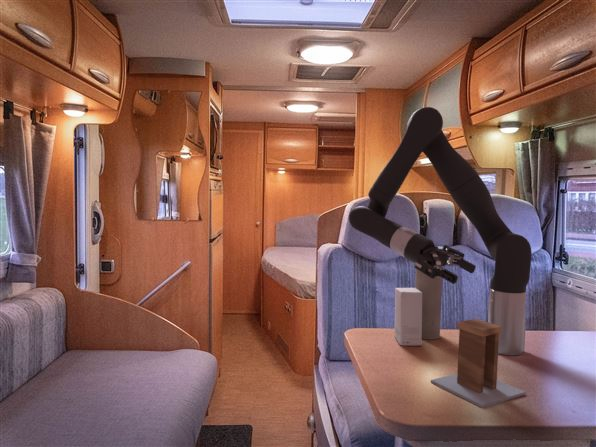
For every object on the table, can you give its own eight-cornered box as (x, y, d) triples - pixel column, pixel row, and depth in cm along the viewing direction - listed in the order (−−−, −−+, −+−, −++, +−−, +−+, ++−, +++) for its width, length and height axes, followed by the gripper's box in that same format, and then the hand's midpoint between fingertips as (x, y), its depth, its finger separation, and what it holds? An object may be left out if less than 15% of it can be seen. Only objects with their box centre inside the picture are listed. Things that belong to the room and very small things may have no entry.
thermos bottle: (438, 332, 143) (442, 244, 141) (441, 340, 135) (445, 247, 133) (412, 330, 144) (416, 243, 143) (413, 338, 136) (417, 246, 135)
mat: (472, 372, 110) (472, 369, 110) (525, 394, 98) (525, 391, 98) (430, 382, 103) (430, 379, 103) (482, 407, 91) (482, 405, 91)
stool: (473, 377, 105) (476, 318, 104) (499, 388, 99) (502, 326, 98) (454, 382, 102) (457, 321, 101) (479, 394, 96) (482, 330, 95)
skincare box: (421, 346, 129) (423, 292, 128) (398, 346, 129) (400, 292, 128) (414, 337, 137) (416, 287, 136) (392, 337, 137) (394, 286, 136)
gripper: (398, 240, 114) (455, 271, 104) (429, 226, 123) (484, 254, 113) (392, 265, 117) (446, 297, 107) (423, 250, 126) (475, 278, 116)
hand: (465, 275), depth 110 cm, fingers open, 8 cm apart
